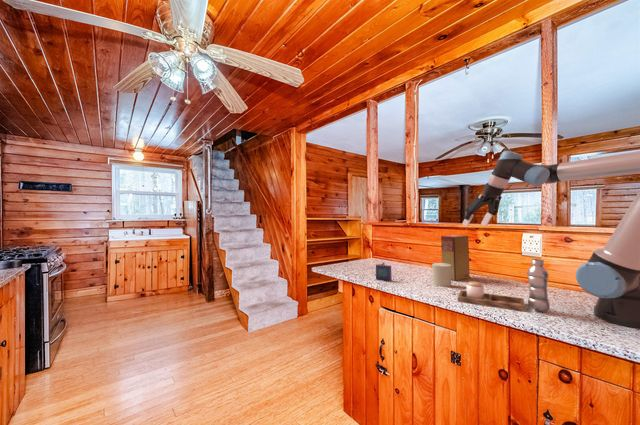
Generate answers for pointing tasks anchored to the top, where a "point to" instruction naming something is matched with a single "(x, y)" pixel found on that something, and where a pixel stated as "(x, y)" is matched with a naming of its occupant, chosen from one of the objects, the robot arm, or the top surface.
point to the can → (441, 274)
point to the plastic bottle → (538, 286)
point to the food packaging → (456, 255)
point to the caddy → (495, 301)
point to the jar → (475, 290)
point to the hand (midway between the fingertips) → (474, 225)
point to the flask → (383, 272)
